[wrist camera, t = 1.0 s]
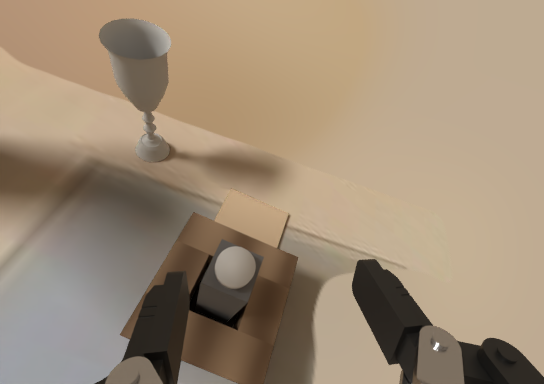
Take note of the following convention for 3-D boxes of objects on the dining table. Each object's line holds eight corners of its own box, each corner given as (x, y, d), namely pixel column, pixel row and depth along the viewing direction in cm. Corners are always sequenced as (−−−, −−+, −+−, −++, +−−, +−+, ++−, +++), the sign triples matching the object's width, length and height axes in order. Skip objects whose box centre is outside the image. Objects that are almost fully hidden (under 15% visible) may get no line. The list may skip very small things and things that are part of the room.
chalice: (172, 170, 41) (165, 65, 27) (123, 164, 40) (88, 49, 25) (178, 135, 45) (175, 28, 31) (134, 129, 44) (109, 12, 29)
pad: (208, 231, 38) (208, 230, 37) (230, 189, 42) (231, 188, 42) (272, 259, 38) (273, 258, 38) (287, 214, 43) (288, 213, 43)
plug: (194, 310, 32) (201, 279, 20) (209, 279, 34) (223, 234, 22) (225, 323, 32) (250, 300, 20) (237, 291, 35) (267, 253, 22)
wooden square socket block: (130, 339, 29) (119, 335, 24) (192, 231, 37) (193, 212, 32) (248, 387, 30) (260, 392, 25) (283, 271, 38) (298, 257, 33)
